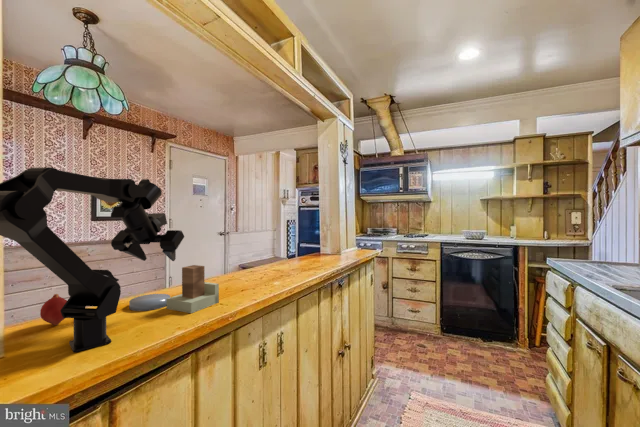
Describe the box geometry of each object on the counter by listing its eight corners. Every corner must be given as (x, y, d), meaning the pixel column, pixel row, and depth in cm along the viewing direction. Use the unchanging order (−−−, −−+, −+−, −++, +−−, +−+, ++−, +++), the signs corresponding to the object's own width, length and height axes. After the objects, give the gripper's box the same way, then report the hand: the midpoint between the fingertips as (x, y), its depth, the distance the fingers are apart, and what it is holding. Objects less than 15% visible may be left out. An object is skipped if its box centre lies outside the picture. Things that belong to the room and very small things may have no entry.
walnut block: (193, 298, 89) (193, 268, 89) (182, 296, 91) (182, 267, 91) (204, 294, 93) (204, 266, 93) (193, 293, 95) (193, 265, 95)
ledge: (191, 313, 85) (191, 292, 85) (166, 308, 89) (166, 288, 89) (218, 302, 95) (218, 283, 95) (195, 298, 99) (195, 280, 99)
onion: (36, 326, 75) (35, 295, 75) (64, 319, 80) (63, 289, 80) (46, 331, 72) (46, 298, 72) (74, 323, 77) (74, 292, 77)
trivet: (175, 304, 92) (175, 298, 92) (135, 313, 84) (135, 306, 84) (162, 297, 100) (162, 291, 100) (124, 305, 92) (124, 298, 92)
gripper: (182, 202, 85) (199, 241, 95) (122, 202, 87) (144, 240, 96) (164, 228, 76) (184, 268, 86) (97, 227, 78) (124, 267, 88)
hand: (159, 259), depth 89 cm, fingers open, 9 cm apart
